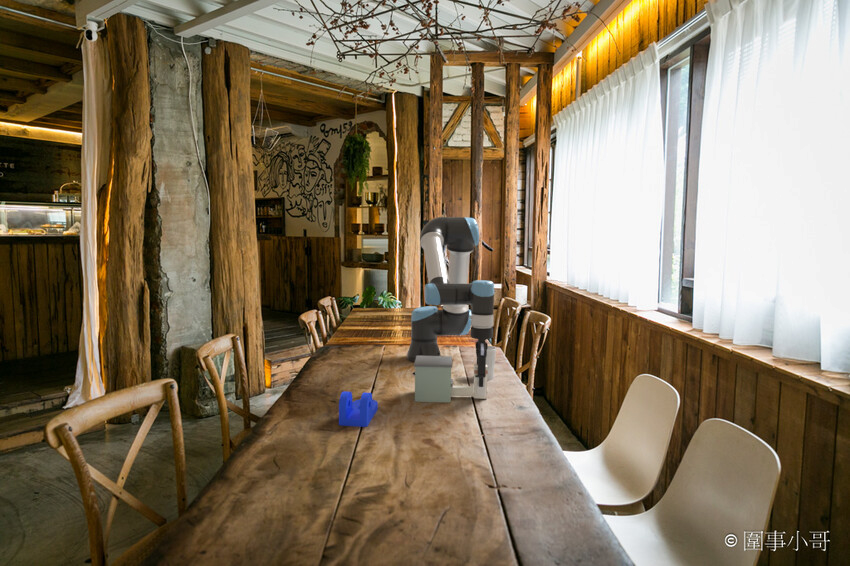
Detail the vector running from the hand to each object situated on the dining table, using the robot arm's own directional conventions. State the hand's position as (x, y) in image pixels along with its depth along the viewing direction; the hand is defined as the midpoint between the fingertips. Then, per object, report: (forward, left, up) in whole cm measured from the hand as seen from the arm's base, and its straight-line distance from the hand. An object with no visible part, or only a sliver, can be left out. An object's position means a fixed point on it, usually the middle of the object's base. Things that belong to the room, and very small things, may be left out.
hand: (480, 393), depth 164 cm
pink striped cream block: (+4, -2, -1) cm, 5 cm away
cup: (-15, -19, -2) cm, 24 cm away
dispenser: (+14, -8, -2) cm, 16 cm away
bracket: (+42, -3, -2) cm, 42 cm away
